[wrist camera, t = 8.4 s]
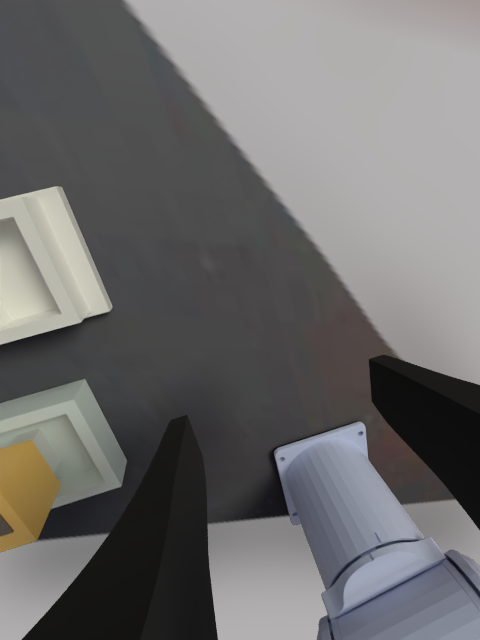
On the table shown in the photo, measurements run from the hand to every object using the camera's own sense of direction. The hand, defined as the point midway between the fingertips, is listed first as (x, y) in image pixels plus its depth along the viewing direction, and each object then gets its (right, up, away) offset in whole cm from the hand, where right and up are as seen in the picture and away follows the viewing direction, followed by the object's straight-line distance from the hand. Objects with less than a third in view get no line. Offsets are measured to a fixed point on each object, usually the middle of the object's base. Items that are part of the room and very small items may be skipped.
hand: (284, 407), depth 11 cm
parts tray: (-15, -5, +10) cm, 19 cm away
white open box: (-14, +6, +6) cm, 16 cm away
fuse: (-15, -5, +9) cm, 19 cm away
